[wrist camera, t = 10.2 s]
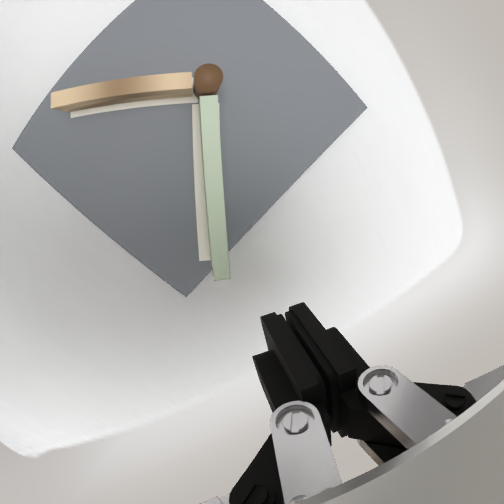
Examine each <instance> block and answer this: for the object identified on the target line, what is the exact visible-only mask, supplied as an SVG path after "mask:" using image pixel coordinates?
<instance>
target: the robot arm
mask: <svg viewBox="0 0 504 504" xmlns="http://www.w3.org/2000/svg"><path fill="white" fill-rule="evenodd" d="M285 317H286V320H285V319H284V317H283V315H282V314H279V315H276V313H275V312H273V313H270V314H267V315H264V316H261V317H260V318H261V323H262V327H263V331H264V335H265V339H266V342H267V346H268V350H269V351H267V352H264V353H261V354H258V355H255V356H253V361H254V364H255V367H256V370H257V374H258V377H259V379H260V382H261V385H262V387H263V390H264V392H265V395H266V398H267V400H268V402H269V404H270V407H271V409H272V412H273V414H272V416H271V419H270V427H271V434H270V436H269V437H268V439H267V440H266V442H265V443H264V445H263V446H262V448H261V449H260V451H259V452H258V454H257V455H256V457H255V458H254V459H253V461H252V462H251V464H250V465H249V467H248V468H247V470H246V471H245V472H244V474H243V475H242V476H241V478H240V479H239V481H238V482H237V483H236V485H235V486H234V487H233V489H232V491H231V493H229V494H227V495H225V496H223V497H221V498H218V497H215V498H212V499H210V500H208V501H205V502H203V503H200V504H504V365H503V366H501V367H499V368H497V369H495V370H493V371H491V372H489V373H487V374H484V375H482V376H480V377H478V378H476V379H474V380H471V381H469V382H467V383H465V385H464V387H459V386H451V385H438V384H426V383H416V382H412V381H411V380H409V379H408V378H407V377H406V376H404V375H403V374H402V373H400V372H399V371H398V370H396V369H394V368H393V367H389V366H375V367H371V368H370V367H369V366H368V365H367V364H366V363H365V361H364V360H363V359H362V358H361V357H360V356H359V354H358V353H357V352H356V351H355V350H354V348H353V347H352V346H351V345H350V344H349V343H348V341H347V340H346V339H345V338H344V337H343V335H342V334H341V333H340V332H339V331H338V330H337V329H336V328H335V327H332V328H330V329H327V330H326V329H325V328H324V327H323V326H322V324H321V323H320V322H319V321H318V319H317V318H316V317H315V316H314V314H313V313H312V312H311V311H310V309H309V308H308V307H307V306H306V304H305V303H304V302H302V303H299V304H296V305H294V306H291V307H289V311H288V312H285ZM331 431H332V432H333V433H334V432H336V431H338V433H339V434H340V436H341V437H344V436H347V435H348V437H349V438H353V439H357V442H358V443H359V445H360V446H361V447H362V448H363V449H364V450H365V452H366V453H367V454H368V455H369V456H370V457H371V458H372V459H373V460H374V461H375V462H376V463H377V464H378V465H379V466H378V467H376V468H374V469H372V470H370V471H368V472H366V473H364V474H362V475H360V476H358V477H356V478H354V479H351V480H349V481H347V482H345V483H343V484H342V480H341V478H340V474H339V472H338V468H337V465H336V462H335V459H334V456H333V453H332V450H331Z"/></svg>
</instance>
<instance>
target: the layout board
mask: <svg viewBox="0 0 504 504" xmlns="http://www.w3.org/2000/svg"><path fill="white" fill-rule="evenodd" d="M208 63H210V64H215V65H217V66H218V67H219V68H220V69H221V70H222V72H223V81H222V83H221V85H220V88H219V90H218V92H217V94H216V95H218V108H219V126H220V144H221V160H222V175H223V190H224V204H225V218H226V232H227V245H228V252H229V251H230V250H231V249H232V248H233V246H234V245H235V244H236V243H237V242H238V241H239V240H240V239H241V238H242V237H243V236H244V235H245V234H246V233H247V232H248V231H249V229H250V228H251V227H252V226H253V225H254V224H255V223H256V222H257V221H258V220H259V219H260V218H261V217H262V216H263V215H264V214H265V213H266V212H267V210H268V209H269V208H270V207H271V206H272V205H273V204H274V203H275V202H276V201H277V200H278V199H279V198H280V197H281V196H282V195H283V194H284V193H285V192H286V191H287V190H288V189H289V187H290V186H291V185H292V184H293V183H294V182H295V181H296V180H297V179H298V178H299V177H300V176H301V175H302V174H303V173H304V172H305V171H306V170H307V169H308V168H309V167H310V166H311V165H312V164H313V163H314V162H315V161H316V160H317V158H318V157H319V156H320V155H321V154H322V153H323V152H324V151H325V150H326V149H327V148H328V147H329V146H330V145H331V144H332V143H333V142H334V141H335V140H336V139H337V138H338V137H339V136H340V135H341V134H342V133H343V132H344V131H345V130H346V129H347V128H348V127H349V126H350V125H351V124H352V123H353V122H354V121H355V120H356V119H357V118H358V117H359V116H360V115H361V114H362V113H363V112H364V111H365V110H366V109H367V107H366V105H365V104H364V103H363V102H362V100H361V99H360V98H359V97H358V96H357V94H356V93H355V92H354V91H353V90H352V88H351V87H350V86H349V85H348V84H347V83H346V81H345V80H344V79H343V78H342V77H341V76H340V75H339V74H338V72H337V71H336V70H335V69H334V68H333V67H332V66H331V65H330V64H329V63H328V62H327V61H326V59H325V58H324V57H323V56H322V55H321V54H320V53H319V52H318V51H317V50H316V49H315V48H314V47H313V46H312V45H311V44H310V43H309V42H308V41H307V40H306V39H305V38H304V37H303V36H302V35H301V34H300V33H299V32H298V31H297V30H295V29H294V28H293V27H292V26H291V25H290V24H289V23H288V22H287V21H286V20H285V19H284V18H282V17H281V16H280V15H279V14H278V13H277V12H276V11H274V10H273V9H272V8H271V7H270V6H269V5H267V4H266V3H265V2H264V1H263V0H135V1H134V2H133V3H132V4H131V5H130V6H128V7H127V8H126V9H125V10H124V11H123V12H122V13H121V14H120V15H118V16H117V17H116V18H115V19H114V20H113V21H112V22H111V23H110V24H109V25H108V26H107V27H106V28H105V29H104V30H103V31H102V32H101V33H100V34H99V35H98V36H97V37H96V38H95V39H94V40H93V41H92V42H91V43H90V44H89V45H88V47H87V48H86V49H85V50H84V51H83V52H82V53H81V54H80V55H79V57H78V58H77V59H76V60H75V61H74V62H73V63H72V65H71V66H70V67H69V68H68V69H67V71H66V72H65V73H64V74H63V75H62V77H61V78H60V79H59V80H58V82H57V83H56V84H55V86H54V87H53V88H52V89H51V91H50V92H49V93H48V95H47V96H46V98H45V99H44V100H43V102H42V103H41V104H40V106H39V107H38V109H37V110H36V112H35V113H34V114H33V116H32V117H31V119H30V120H29V122H28V123H27V125H26V127H25V128H24V130H23V131H22V133H21V134H20V136H19V138H18V139H17V141H16V143H15V144H14V146H13V148H12V149H13V150H14V151H15V152H16V153H17V154H18V155H19V156H20V157H21V158H23V159H24V160H25V161H26V162H27V163H28V164H29V165H30V166H31V167H32V168H33V169H34V170H35V171H36V172H37V173H38V174H39V175H40V176H41V177H42V178H43V179H44V180H46V181H47V182H48V183H49V184H50V185H51V186H52V187H53V188H54V189H55V190H56V191H57V192H59V193H60V194H61V195H62V196H63V197H64V198H65V199H66V200H67V201H69V202H70V203H71V204H72V205H73V206H74V207H75V208H76V209H78V210H79V211H80V212H81V213H82V214H83V215H84V216H86V217H87V218H88V219H89V220H90V221H91V222H93V223H94V224H95V225H96V226H97V227H98V228H100V229H101V230H102V231H103V232H104V233H106V234H107V235H108V236H109V237H110V238H112V239H113V240H114V241H115V242H116V243H118V244H119V245H120V246H121V247H123V248H124V249H125V250H126V251H127V252H129V253H130V254H131V255H132V256H134V257H135V258H136V259H137V260H139V261H140V262H141V263H142V264H144V265H145V266H146V267H148V268H149V269H150V270H151V271H153V272H154V273H155V274H156V275H158V276H159V277H160V278H162V279H163V280H164V281H166V282H167V283H168V284H170V285H171V286H172V287H173V288H175V289H176V290H177V291H179V292H180V293H181V294H183V295H184V296H185V297H187V296H188V295H189V294H190V293H191V291H192V290H193V289H194V288H195V287H196V286H197V285H198V284H199V283H200V282H201V281H202V280H203V279H204V277H205V276H206V275H207V274H208V273H209V272H210V271H211V270H212V265H211V256H210V246H209V236H208V225H207V214H206V203H205V190H204V178H203V164H202V150H201V134H200V117H199V99H198V98H197V97H196V96H195V94H194V91H193V86H194V73H195V71H196V69H197V68H198V67H199V66H201V65H203V64H208ZM181 72H192V97H178V98H165V99H154V100H145V101H136V102H128V103H121V104H114V105H107V106H101V107H95V108H89V109H84V110H78V111H73V112H66V111H61V110H56V109H51V93H52V92H56V91H60V90H64V89H69V88H73V87H78V86H83V85H88V84H93V83H98V82H104V81H110V80H116V79H123V78H130V77H138V76H147V75H156V74H167V73H181Z"/></svg>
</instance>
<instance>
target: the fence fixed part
mask: <svg viewBox="0 0 504 504" xmlns="http://www.w3.org/2000/svg"><path fill="white" fill-rule="evenodd" d="M222 81H223V72H222V70H221V69H220V68H219V67H218V66H217V65H215V64H210V63H208V64H203V65H201V66H199V67H198V68H197V69H196V71H195V73H194V86H193V91H194V94H195V96H196V97H197V98H198V99H199V98H200V96H210V95H216V94H217V92H218V90H219V88H220V85H221V83H222ZM178 97H192V72H181V73H167V74H156V75H147V76H138V77H130V78H123V79H116V80H110V81H104V82H98V83H93V84H88V85H83V86H78V87H73V88H69V89H64V90H60V91H56V92H52V93H51V109H56V110H61V111H66V112H73V111H78V110H84V109H89V108H95V107H101V106H107V105H114V104H121V103H128V102H136V101H145V100H154V99H165V98H178Z"/></svg>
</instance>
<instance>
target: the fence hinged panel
mask: <svg viewBox="0 0 504 504" xmlns="http://www.w3.org/2000/svg"><path fill="white" fill-rule="evenodd" d="M199 117H200V134H201V150H202V164H203V178H204V190H205V203H206V214H207V225H208V236H209V246H210V256H211V265H212V270H213V276H214V281H215V280H224V279H230V269H229V257H228V245H227V232H226V218H225V204H224V190H223V175H222V160H221V144H220V126H219V108H218V95H210V96H200V98H199Z"/></svg>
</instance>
